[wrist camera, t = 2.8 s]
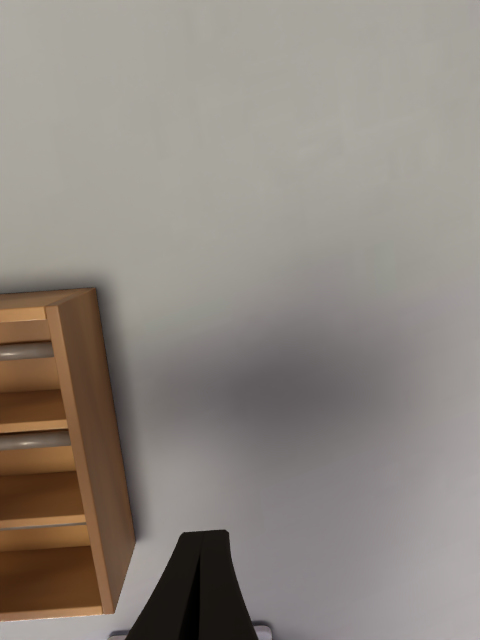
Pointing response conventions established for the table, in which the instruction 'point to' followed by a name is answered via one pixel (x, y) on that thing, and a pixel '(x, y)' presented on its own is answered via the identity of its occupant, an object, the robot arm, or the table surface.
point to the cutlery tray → (59, 461)
